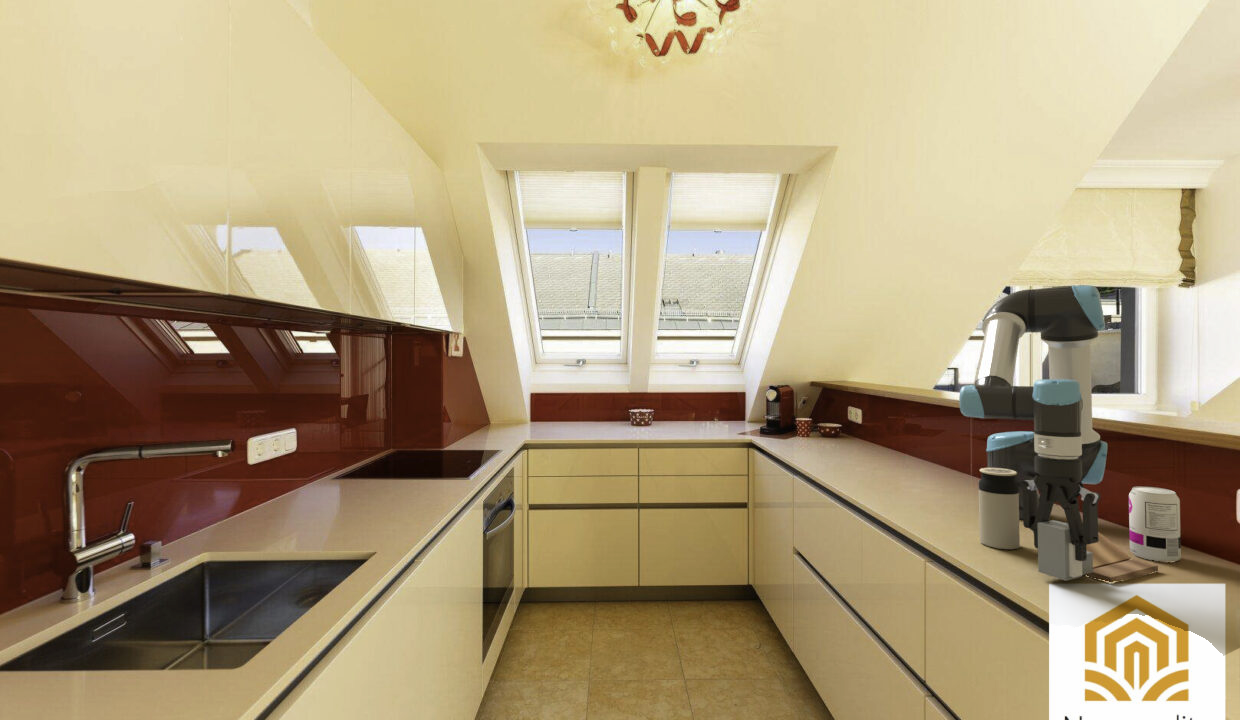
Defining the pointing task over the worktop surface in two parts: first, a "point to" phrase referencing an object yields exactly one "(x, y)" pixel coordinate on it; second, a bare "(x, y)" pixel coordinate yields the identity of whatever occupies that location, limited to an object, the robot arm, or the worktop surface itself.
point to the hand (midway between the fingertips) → (1059, 570)
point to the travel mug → (999, 508)
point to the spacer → (1057, 550)
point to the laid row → (1123, 570)
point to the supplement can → (1154, 524)
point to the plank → (1106, 552)
